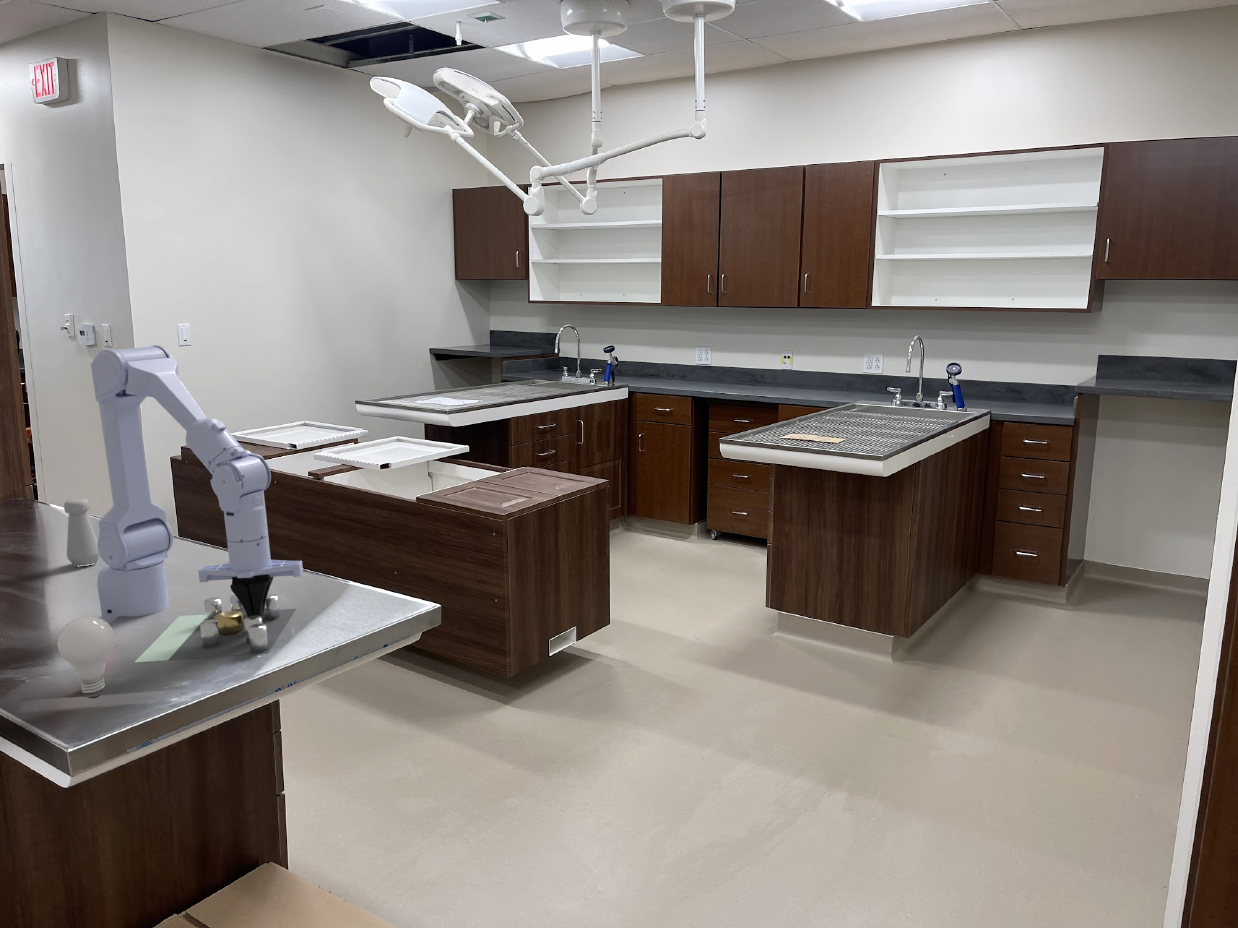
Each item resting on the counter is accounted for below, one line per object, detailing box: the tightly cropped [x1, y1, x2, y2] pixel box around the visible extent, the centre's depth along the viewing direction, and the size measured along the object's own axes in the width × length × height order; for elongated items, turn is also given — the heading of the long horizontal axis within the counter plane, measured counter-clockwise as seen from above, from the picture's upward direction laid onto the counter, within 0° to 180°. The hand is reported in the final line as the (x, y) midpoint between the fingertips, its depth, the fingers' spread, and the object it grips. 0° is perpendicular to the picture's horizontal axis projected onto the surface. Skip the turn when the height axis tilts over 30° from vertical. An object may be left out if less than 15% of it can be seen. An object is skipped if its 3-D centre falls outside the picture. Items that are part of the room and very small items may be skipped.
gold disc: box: [214, 610, 244, 636], centre depth 136 cm, size 4×4×2 cm
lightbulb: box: [57, 615, 116, 699], centre depth 117 cm, size 6×6×11 cm
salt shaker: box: [63, 498, 100, 567], centre depth 175 cm, size 6×6×13 cm
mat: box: [133, 608, 297, 664], centre depth 136 cm, size 18×18×1 cm
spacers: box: [200, 593, 280, 653], centre depth 135 cm, size 12×16×4 cm
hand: (257, 623), depth 137 cm, fingers closed
